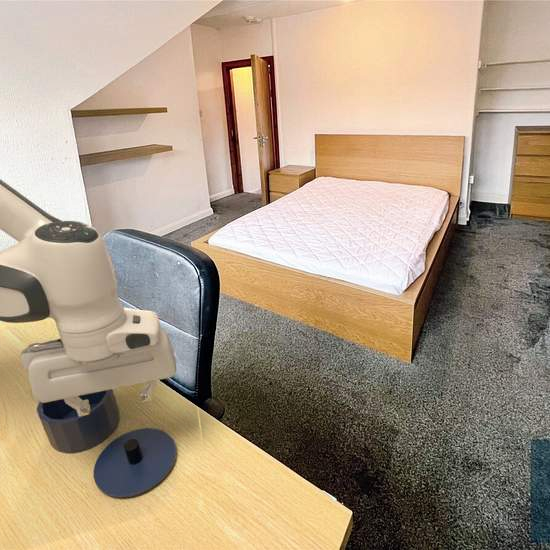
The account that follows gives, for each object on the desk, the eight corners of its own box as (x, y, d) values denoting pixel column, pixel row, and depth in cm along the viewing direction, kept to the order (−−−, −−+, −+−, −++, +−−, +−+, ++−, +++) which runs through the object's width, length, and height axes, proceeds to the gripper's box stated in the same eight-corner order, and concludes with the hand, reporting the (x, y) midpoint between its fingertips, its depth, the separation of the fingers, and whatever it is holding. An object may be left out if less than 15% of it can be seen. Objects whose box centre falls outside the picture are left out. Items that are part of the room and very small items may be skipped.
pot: (42, 461, 72) (28, 430, 69) (57, 410, 83) (46, 382, 80) (117, 443, 75) (107, 412, 71) (122, 396, 86) (113, 368, 82)
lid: (89, 510, 63) (81, 490, 61) (100, 442, 75) (93, 424, 73) (178, 486, 66) (173, 467, 64) (175, 424, 78) (170, 406, 76)
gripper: (8, 360, 54) (40, 436, 60) (168, 332, 58) (182, 406, 64) (22, 334, 59) (50, 406, 65) (167, 310, 63) (180, 380, 69)
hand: (116, 406), depth 65 cm, fingers open, 8 cm apart
